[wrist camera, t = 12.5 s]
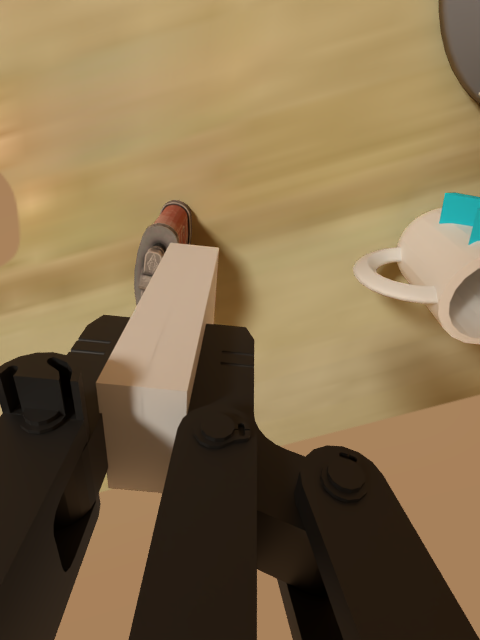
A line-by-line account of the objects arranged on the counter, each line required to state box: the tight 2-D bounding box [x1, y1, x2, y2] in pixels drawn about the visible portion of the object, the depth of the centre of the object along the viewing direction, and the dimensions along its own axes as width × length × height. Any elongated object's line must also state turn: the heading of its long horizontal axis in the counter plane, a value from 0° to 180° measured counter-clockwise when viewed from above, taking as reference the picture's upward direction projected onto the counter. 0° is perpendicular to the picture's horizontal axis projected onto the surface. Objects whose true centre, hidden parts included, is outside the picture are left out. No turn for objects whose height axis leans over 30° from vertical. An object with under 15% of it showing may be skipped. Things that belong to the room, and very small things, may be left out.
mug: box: [353, 193, 480, 344], centre depth 31 cm, size 12×9×12 cm
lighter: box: [134, 200, 192, 305], centre depth 33 cm, size 8×3×10 cm, turn 168°
